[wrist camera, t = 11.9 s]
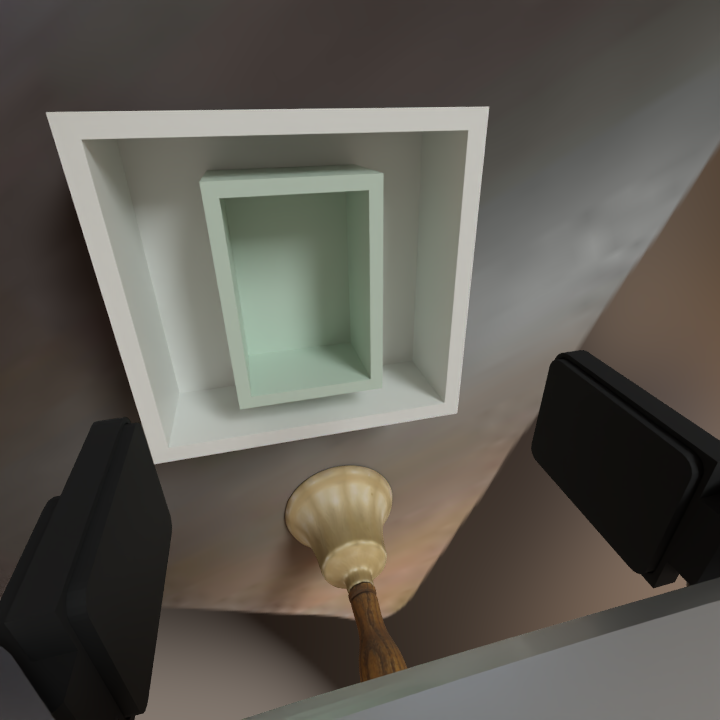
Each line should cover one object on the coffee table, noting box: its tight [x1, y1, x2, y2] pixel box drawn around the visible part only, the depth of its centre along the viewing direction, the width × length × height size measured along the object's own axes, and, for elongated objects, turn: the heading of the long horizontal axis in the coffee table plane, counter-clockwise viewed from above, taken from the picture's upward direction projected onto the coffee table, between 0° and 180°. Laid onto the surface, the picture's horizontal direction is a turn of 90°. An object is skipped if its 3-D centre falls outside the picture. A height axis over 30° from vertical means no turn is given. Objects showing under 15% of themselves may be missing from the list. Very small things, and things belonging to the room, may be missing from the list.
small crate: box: [199, 164, 384, 409], centre depth 21 cm, size 10×7×5 cm
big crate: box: [46, 107, 489, 464], centre depth 22 cm, size 15×16×6 cm
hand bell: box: [285, 465, 407, 682], centre depth 27 cm, size 8×8×16 cm
